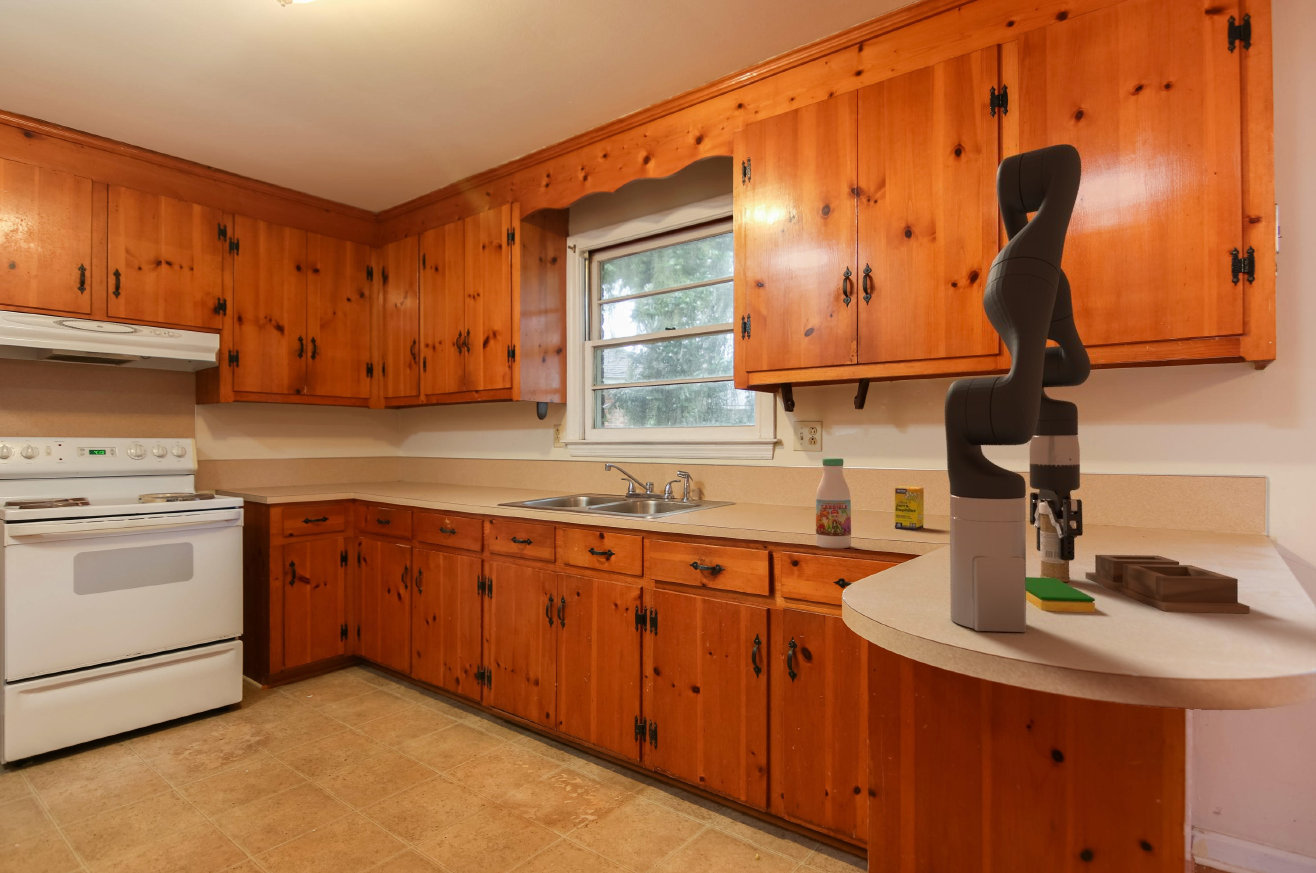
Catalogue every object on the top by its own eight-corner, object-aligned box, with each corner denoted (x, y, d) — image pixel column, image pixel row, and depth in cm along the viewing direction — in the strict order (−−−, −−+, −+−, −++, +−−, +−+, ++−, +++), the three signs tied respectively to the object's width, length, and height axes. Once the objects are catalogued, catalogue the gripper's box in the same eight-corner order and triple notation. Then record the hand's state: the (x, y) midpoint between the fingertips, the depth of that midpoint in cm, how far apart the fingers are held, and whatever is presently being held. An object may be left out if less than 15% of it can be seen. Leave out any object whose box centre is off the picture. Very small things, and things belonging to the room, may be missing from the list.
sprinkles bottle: (1075, 580, 116) (1074, 502, 116) (1061, 584, 113) (1061, 504, 113) (1047, 575, 120) (1047, 500, 119) (1034, 579, 117) (1033, 502, 117)
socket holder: (1249, 613, 95) (1249, 581, 94) (1165, 611, 96) (1165, 579, 96) (1153, 578, 116) (1153, 553, 116) (1085, 577, 118) (1085, 552, 118)
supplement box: (894, 528, 178) (894, 487, 178) (901, 525, 183) (901, 486, 183) (917, 530, 175) (917, 488, 175) (924, 527, 180) (923, 486, 180)
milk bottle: (811, 543, 155) (810, 457, 155) (843, 543, 156) (843, 457, 156) (822, 549, 148) (821, 459, 148) (856, 548, 148) (855, 458, 148)
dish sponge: (1055, 592, 110) (1055, 577, 109) (1095, 615, 96) (1095, 598, 96) (1008, 590, 111) (1008, 576, 111) (1042, 613, 97) (1042, 596, 97)
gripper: (1099, 463, 109) (1100, 564, 109) (1057, 459, 123) (1058, 548, 123) (1050, 464, 110) (1051, 563, 110) (1014, 460, 124) (1015, 548, 124)
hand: (1054, 555), depth 116 cm, fingers open, 8 cm apart
